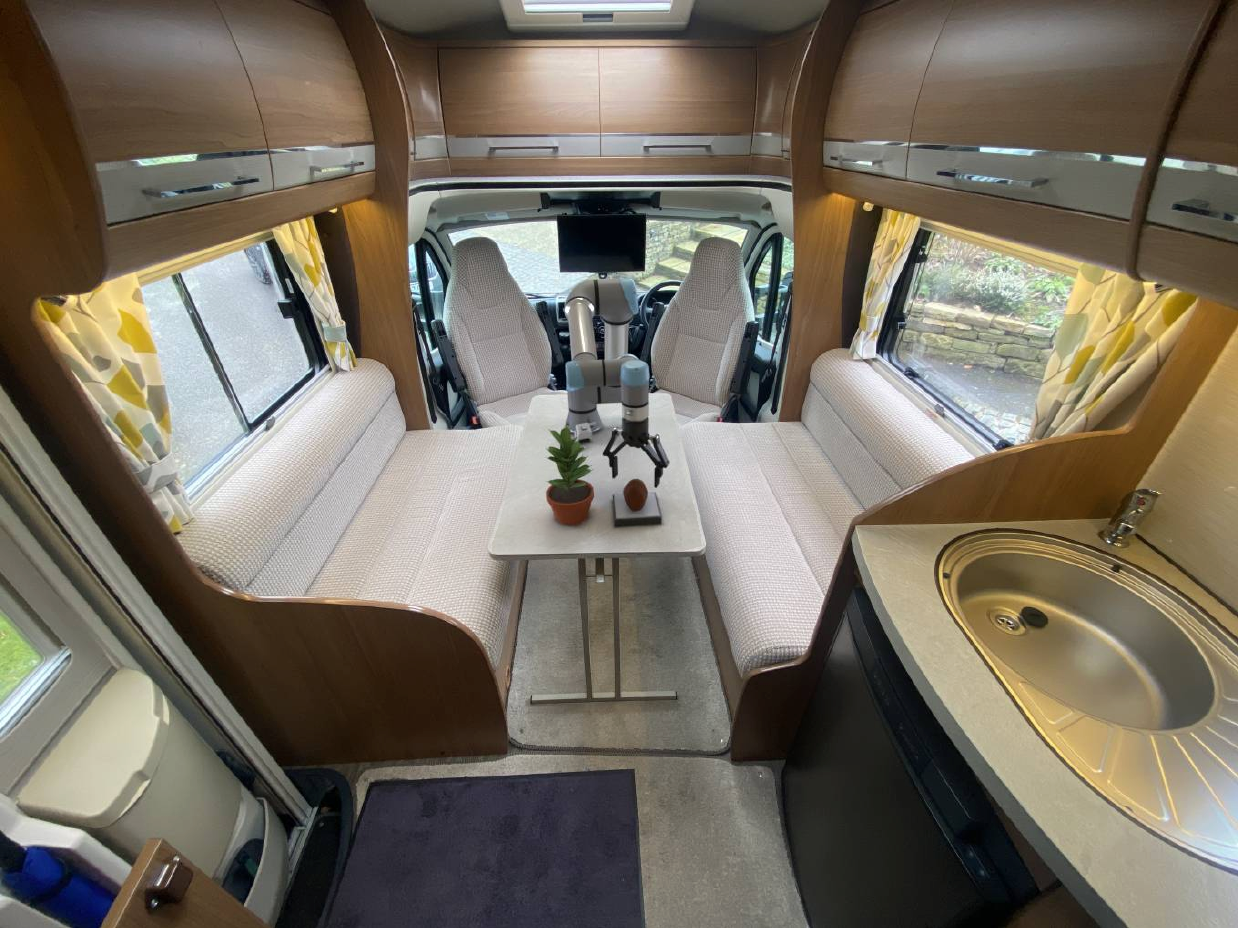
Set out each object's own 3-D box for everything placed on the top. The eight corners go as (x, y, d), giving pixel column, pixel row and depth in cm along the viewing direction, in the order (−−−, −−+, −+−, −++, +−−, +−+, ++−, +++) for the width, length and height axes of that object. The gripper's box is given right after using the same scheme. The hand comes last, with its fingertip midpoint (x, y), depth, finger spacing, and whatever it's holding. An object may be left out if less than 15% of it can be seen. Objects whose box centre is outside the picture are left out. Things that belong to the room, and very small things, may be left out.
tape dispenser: (576, 446, 198) (579, 436, 188) (572, 431, 200) (575, 421, 190) (590, 444, 199) (594, 434, 190) (586, 429, 201) (589, 418, 192)
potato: (622, 514, 149) (622, 492, 145) (623, 493, 159) (623, 472, 155) (648, 514, 149) (648, 492, 145) (647, 493, 159) (647, 472, 155)
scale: (612, 500, 161) (612, 492, 160) (655, 498, 162) (655, 490, 160) (614, 526, 149) (614, 518, 147) (661, 524, 150) (661, 516, 148)
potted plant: (602, 523, 150) (598, 435, 135) (553, 533, 147) (542, 443, 132) (591, 497, 163) (585, 413, 148) (545, 506, 159) (534, 421, 144)
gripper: (589, 415, 140) (593, 478, 151) (673, 429, 132) (671, 496, 142) (600, 405, 146) (603, 466, 157) (682, 418, 137) (679, 482, 148)
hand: (635, 480), depth 150 cm, fingers open, 13 cm apart
